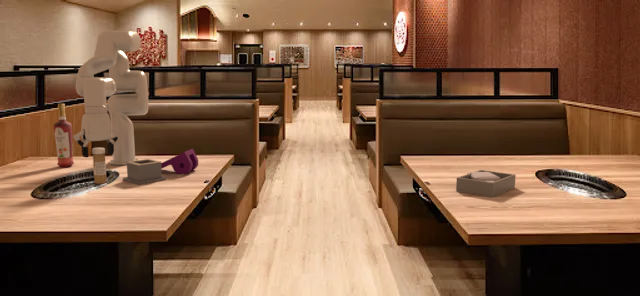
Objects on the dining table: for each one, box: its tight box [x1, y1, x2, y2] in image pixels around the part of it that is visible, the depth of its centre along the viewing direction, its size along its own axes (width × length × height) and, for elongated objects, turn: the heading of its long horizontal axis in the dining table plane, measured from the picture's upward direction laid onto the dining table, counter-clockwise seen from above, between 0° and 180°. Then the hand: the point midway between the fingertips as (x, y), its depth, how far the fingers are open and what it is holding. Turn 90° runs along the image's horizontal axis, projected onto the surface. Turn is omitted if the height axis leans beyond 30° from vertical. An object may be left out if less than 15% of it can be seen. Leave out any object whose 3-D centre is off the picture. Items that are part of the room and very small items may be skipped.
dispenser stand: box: [455, 169, 517, 198], centre depth 188 cm, size 14×20×5 cm
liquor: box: [53, 103, 75, 168], centre depth 229 cm, size 7×7×28 cm
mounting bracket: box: [161, 148, 199, 175], centre depth 220 cm, size 9×8×18 cm
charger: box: [467, 171, 500, 182], centre depth 188 cm, size 5×9×15 cm
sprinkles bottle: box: [91, 147, 107, 185], centre depth 197 cm, size 5×5×13 cm
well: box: [122, 158, 167, 186], centre depth 203 cm, size 12×12×7 cm
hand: (98, 155), depth 196 cm, fingers open, 9 cm apart
